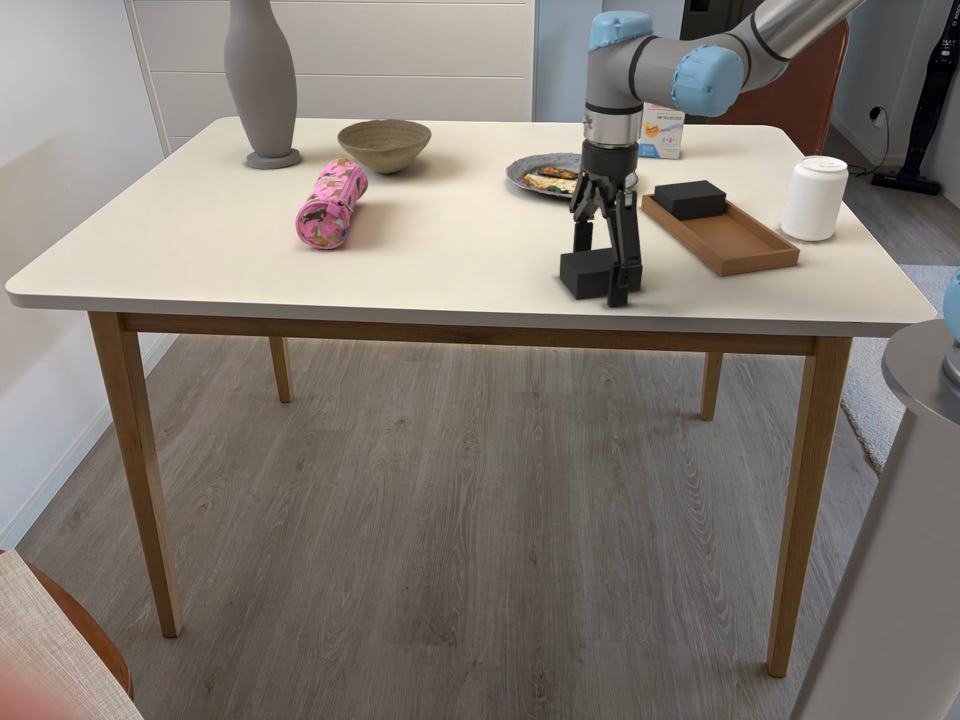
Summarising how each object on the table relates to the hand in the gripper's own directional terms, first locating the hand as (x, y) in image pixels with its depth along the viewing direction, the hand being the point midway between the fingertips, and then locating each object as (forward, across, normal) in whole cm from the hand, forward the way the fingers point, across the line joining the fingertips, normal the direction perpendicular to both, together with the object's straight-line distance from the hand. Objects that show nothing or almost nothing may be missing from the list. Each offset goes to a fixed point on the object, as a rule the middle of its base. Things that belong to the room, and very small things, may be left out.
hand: (598, 282), depth 111 cm
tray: (0, -11, +25) cm, 27 cm away
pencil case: (+1, -33, -35) cm, 48 cm away
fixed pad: (0, -20, +25) cm, 32 cm away
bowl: (+1, -58, -22) cm, 62 cm away
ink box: (+1, -51, +35) cm, 62 cm away
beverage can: (0, -7, +40) cm, 41 cm away
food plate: (+1, -40, +11) cm, 41 cm away
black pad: (0, 0, 0) cm, 0 cm away
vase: (+1, -71, -44) cm, 83 cm away
